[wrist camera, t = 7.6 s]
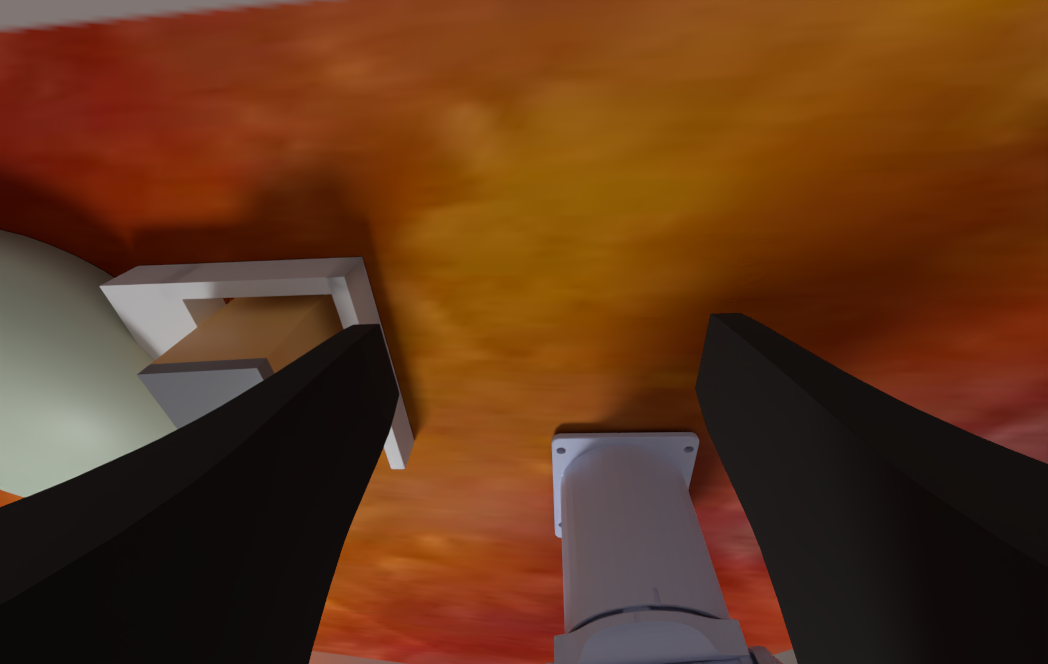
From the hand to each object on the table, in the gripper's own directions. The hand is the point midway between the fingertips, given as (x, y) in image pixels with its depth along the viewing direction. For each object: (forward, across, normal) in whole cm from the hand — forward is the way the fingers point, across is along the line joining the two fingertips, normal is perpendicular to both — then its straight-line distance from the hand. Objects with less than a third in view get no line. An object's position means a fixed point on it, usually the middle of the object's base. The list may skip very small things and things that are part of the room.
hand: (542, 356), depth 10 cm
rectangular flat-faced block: (+10, +12, +7) cm, 17 cm away
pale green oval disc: (+9, +21, +7) cm, 24 cm away
